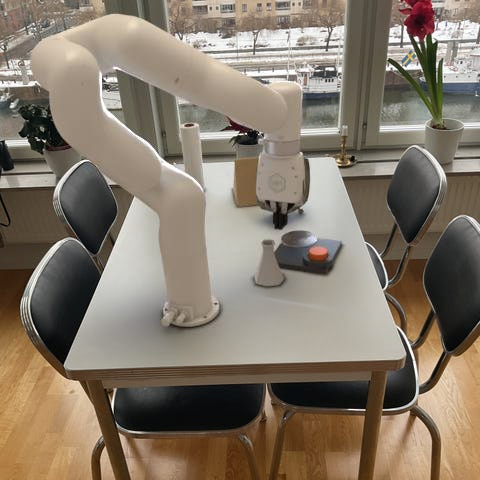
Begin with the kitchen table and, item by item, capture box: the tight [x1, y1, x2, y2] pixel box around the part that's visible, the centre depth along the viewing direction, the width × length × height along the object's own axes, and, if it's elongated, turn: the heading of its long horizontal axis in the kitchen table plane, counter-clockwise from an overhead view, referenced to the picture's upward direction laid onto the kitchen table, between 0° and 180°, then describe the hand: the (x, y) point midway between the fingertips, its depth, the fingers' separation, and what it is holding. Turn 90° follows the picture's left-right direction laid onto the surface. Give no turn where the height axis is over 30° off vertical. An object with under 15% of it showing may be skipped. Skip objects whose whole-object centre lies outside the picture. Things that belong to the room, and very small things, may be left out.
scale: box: [274, 237, 343, 276], centre depth 137 cm, size 16×16×3 cm
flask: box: [253, 239, 285, 287], centre depth 126 cm, size 7×7×10 cm
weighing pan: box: [280, 229, 319, 248], centre depth 139 cm, size 9×9×1 cm
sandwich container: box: [232, 156, 260, 208], centre depth 168 cm, size 9×15×15 cm, turn 6°
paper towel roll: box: [179, 122, 206, 191], centre depth 172 cm, size 7×6×21 cm
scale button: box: [309, 247, 328, 261], centre depth 131 cm, size 4×4×2 cm
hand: (280, 227), depth 122 cm, fingers closed
